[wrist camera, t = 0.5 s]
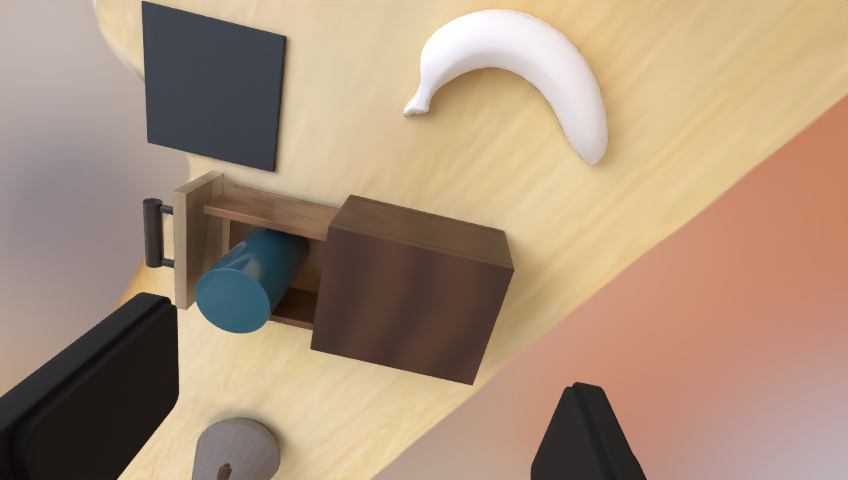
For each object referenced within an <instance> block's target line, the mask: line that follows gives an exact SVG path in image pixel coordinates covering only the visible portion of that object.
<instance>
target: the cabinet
mask: <svg viewBox="0 0 848 480" xmlns="http://www.w3.org/2000/svg"><path fill="white" fill-rule="evenodd" d="M513 272H514V266H513V263H512V259H511V255H510V252H509V248H508V244H507V240H506V237H505V234H504V231H501V230H497V229H493V228H489V227H485V226H480V225H476V224H472V223H468V222H464V221H459V220H455V219H451V218H447V217H442V216H438V215H434V214H430V213H426V212H421V211H417V210H413V209H409V208H405V207H400V206H396V205H392V204H388V203H383V202H379V201H375V200H371V199H367V198H362V197H358V196H354V195H350V196H349V197H348V199H347V200H346V202H345V203H344V204H343V206H342V207H341V209H340V210H339V212H338V213H337V214H336V216H335V217H334V219H333V220H332V222H331V223H330V224H329V226H328V231H327V238H326V245H325V252H324V259H323V265H322V272H321V279H320V286H319V293H318V300H317V307H316V313H315V320H314V327H313V334H312V341H311V348H310V349H311V350H316V351H320V352H325V353H329V354H334V355H338V356H343V357H347V358H352V359H356V360H360V361H365V362H369V363H374V364H378V365H383V366H387V367H392V368H396V369H401V370H405V371H410V372H414V373H419V374H423V375H427V376H432V377H436V378H441V379H445V380H450V381H454V382H459V383H463V384H468V385H473V383H474V380H475V377H476V375H477V372H478V369H479V366H480V364H481V361H482V358H483V355H484V353H485V350H486V347H487V344H488V341H489V339H490V336H491V333H492V330H493V328H494V325H495V322H496V319H497V317H498V314H499V311H500V308H501V306H502V303H503V300H504V297H505V294H506V292H507V289H508V286H509V283H510V281H511V278H512V275H513Z"/></svg>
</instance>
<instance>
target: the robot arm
mask: <svg viewBox="0 0 848 480" xmlns="http://www.w3.org/2000/svg"><path fill="white" fill-rule="evenodd" d="M178 396H179V366H178V321H177V307H176V306H175V305H172V304H171V300H170V299H169V298H168V297H164V296H160V295H155V294H150V293H145V292H142V293H139V294H137V295H136V296H134V297H133V298H132V299H130V300H129V301H128V302H126V303H125V304H124V305H122V306H121V307H120V308H118V309H117V310H116V311H114V312H113V313H112V314H110V315H109V316H108V317H107V318H105V319H104V320H103V321H101V322H100V323H99V324H97V325H96V326H95V327H93V328H92V329H91V330H89V331H88V332H87V333H85V334H84V335H83V336H81V337H80V338H79V339H77V340H76V341H75V342H73V343H72V344H71V345H69V346H68V347H67V348H65V349H64V350H63V351H61V352H60V353H59V354H58V355H56V356H55V357H54V358H52V359H51V360H49V361H48V362H47V363H45V364H44V365H43V366H42V367H40V368H39V369H38V370H36V371H35V372H34V373H32V374H31V375H30V376H28V377H27V378H26V379H24V380H23V381H22V382H21V383H19V384H18V385H17V386H15V387H14V388H12V389H11V390H10V391H8V392H7V393H6V394H4V395H3V396H2V397H0V480H117V479H118V478H119V476H120V475H121V474H122V473H123V471H124V470H125V469H126V467H127V466H128V465H129V464H130V462H131V461H132V460H133V459H134V457H135V456H136V455H137V454H138V452H139V451H140V450H141V449H142V447H143V446H144V445H145V443H146V442H147V441H148V440H149V438H150V437H151V436H152V435H153V433H154V432H155V431H156V430H157V428H158V427H159V426H160V424H161V423H162V422H163V421H164V419H165V418H166V417H167V416H168V414H169V413H170V412H171V411H172V409H173V408H174V406H175V404H176V402H177V400H178ZM531 480H647V479H646V477H645V475H644V473H643V471H642V468H641V466H640V464H639V462H638V461H637V459H636V457H635V456H634V455H633V453H632V451H631V449H630V447H629V444H628V442H627V440H626V438H625V436H624V433H623V431H622V429H621V427H620V425H619V423H618V420H617V418H616V416H615V414H614V412H613V410H612V407H611V405H610V403H609V401H608V399H607V397H606V394H605V392H604V390H603V389H602V388H601V387H599V386H594V385H589V384H585V383H580V382H576V383H574V384H573V386H572V387H566V388H565V390H564V392H563V394H562V396H561V398H560V401H559V403H558V405H557V408H556V410H555V412H554V414H553V417H552V419H551V421H550V424H549V426H548V428H547V431H546V433H545V435H544V438H543V440H542V442H541V444H540V447H539V449H538V452H537V454H536V456H535V458H534V461H533V463H532V466H531Z"/></svg>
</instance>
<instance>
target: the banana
mask: <svg viewBox="0 0 848 480" xmlns="http://www.w3.org/2000/svg"><path fill="white" fill-rule="evenodd" d="M486 67H495V68H502V69H505V70H509V71H511V72H514V73H516V74H518V75H520V76H521V77H523V78H525V79H526V80H527V81H529V82H530V83H531V84H533V85H534V86H535V87H536V88H537V89H538V90H539V91H540V92H541V93H542V95H543V96H544V97H545V98H546V99H547V101H548V102H549V103H550V105H551V106H552V108H553V110H554V112H555V114H556V116H557V118H558V120H559V122H560V124H561V127H562V129H563V131H564V133H565V135H566V137H567V139H568V141H569V143H570V145H571V146H572V148H573V149H574V151H575V152H576V153H577V154H578V156H579V157H580V158H581V159H582V160H583V161H585V162H586V163H587V164H592V163H597V162H598V161H599V160H600V159H601V158H602V157H603V156H604V154H605V152H606V148H607V143H608V126H607V119H606V113H605V108H604V103H603V99H602V96H601V92H600V89H599V86H598V83H597V81H596V79H595V76H594V74H593V72H592V70H591V68H590V67H589V65H588V63H587V62H586V60H585V59H584V57H583V55H582V54H581V53H580V52H579V50H578V49H577V48H576V47H575V46H574V45H573V43H572V42H571V41H570V40H569V39H568V38H567V37H566V36H565V35H563V34H562V33H561V32H560V31H558V30H557V29H555V28H554V27H553V26H551V25H549V24H548V23H546V22H544V21H542V20H540V19H538V18H536V17H534V16H531V15H528V14H526V13H522V12H518V11H514V10H505V9H489V10H481V11H477V12H473V13H470V14H467V15H464V16H461V17H459V18H457V19H455V20H452V21H450V22H449V23H447V24H446V25H444V26H442V27H441V28H440V29H439V30H437V31H436V32H435V33H434V34H433V35H432V36H431V37H430V39H429V40H428V41H427V43H426V45H425V47H424V49H423V51H422V54H421V59H420V74H421V82H420V86H419V89H418V91H417V93H416V95H415V96H414V97H413V98H412V99H411V100H410V101H409V103H408V104H407V106H406V108H405V111H404V113H403V114H404V116H405V117H407V116H409V115H411V114H413V113H416V114H419V113H421V114H424V113H425V112H428V110H429V104H430V101H431V98H432V97H433V95H434V93H435V92H436V90H437V89H438V88H440V87H441V86H443V85H444V84H446V83H447V82H449V81H450V80H452V79H453V78H455V77H457V76H459V75H461V74H463V73H466V72H469V71H472V70H475V69H479V68H486Z"/></svg>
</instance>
